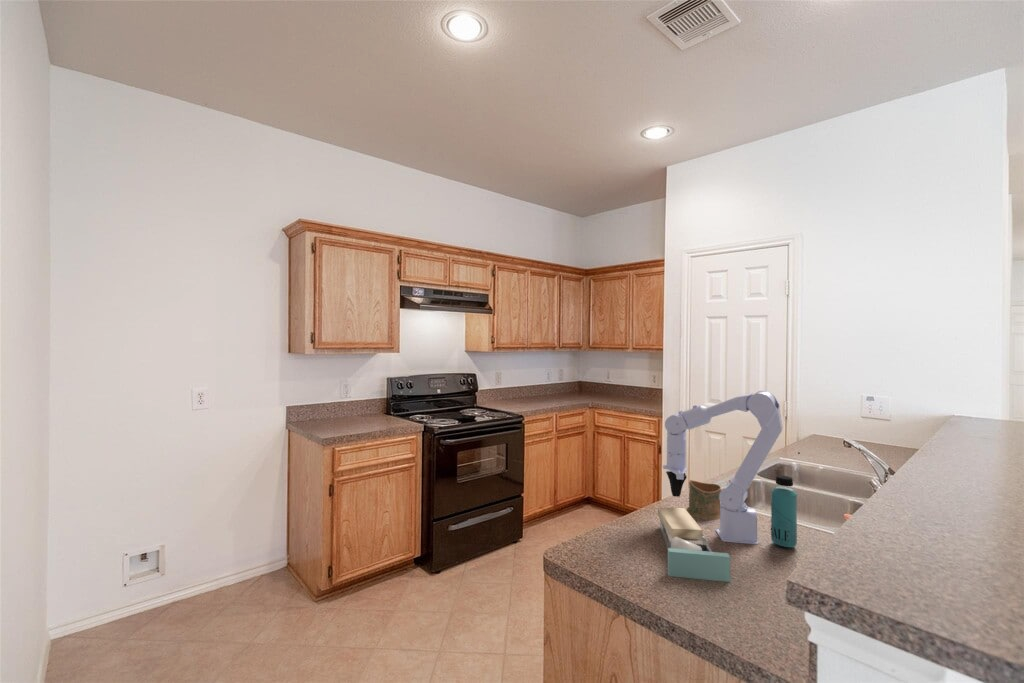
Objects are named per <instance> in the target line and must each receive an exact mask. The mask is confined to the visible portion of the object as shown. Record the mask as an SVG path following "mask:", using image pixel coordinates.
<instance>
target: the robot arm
mask: <svg viewBox="0 0 1024 683" xmlns="http://www.w3.org/2000/svg"><path fill="white" fill-rule="evenodd" d="M780 407H781V406H780V403H779V402H778V400H777V398H776V396H775V395H774V394H773V393H772V392H770V391H767V390H759V391H756V393H754V392H750V393H746V394H741V395H738V396H736V397H732V398H729V399H727V400H725V401H722V402H719V403H717V404H714V405H711V406H709V407H707V406H704V405H702V404H700V405H699V404H695V405H692V408H689V409H686V410H679V411H678V412H677V413H675V414H672V415H670V416H668V417H667V418H666V420H665V421H664V427H665V429H666V432H667V434H666V436H667V437H666V464H663V465H662V469H665V470H668V471H666V472H665V473H666V475H667V477H668V481H669V486H670V491H671V495H672V497H678V498H680V496H681V494H682V490H683V485H684V483H685V481H686V480H687V475H686V471H687V469H688V467H687V430H691V429H695V428H699V427H701V426H704V425H708V424H710V423H711V420H712V418H713V417H718V416H721V415H725V414H727V413H731V412H734V411H741V412H744V413H746V412H747V413H748V412H750V413H751V414H752V415H753V416H754V417H755V418H756V419H757V422H758V424H759V425H760V428H761V430H760V431H759V433H758V435H757V437H756V438H755V439H754V441H753V443H752V445H751V447H749V448H750V449H749V450H748V452H747V453H746V456H745V457H744V458H743V461H742V463H741V464H740V466H739V467H738V469H737V471H736V473H735V475H734V476H733V478H732V479H731V480H732V481H730V482H729V481H728V482H727V483H726V485H725V487H724V488H722V489H723V490H722V491H721V492H720V494H719V499H720V519H719V520H720V521H719V528H717V529H715V531H716V533H717V535H718V537H719V538H720V540H721V541H722V542H724V543H736V544H747V545H759V542H758V516H757V512H756V510H755V508H751V507H748V505H747V503H746V499H748V496H749V488H750V486H751V484H752V483H753V480H754V479H755V477H756V475H757V474H758V472H759V471H760V468H761V467H762V465H763V464H764V462H765V460H766V458H767V456H768V455H769V454H770V452H771V450H772V449H773V446H774V445H775V443H776V441H777V439H778V438H779V437H780V435H781V433H782V430H783V423H782V422H783V421H782V416H781V408H780Z"/></svg>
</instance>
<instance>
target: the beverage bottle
mask: <svg viewBox="0 0 1024 683" xmlns="http://www.w3.org/2000/svg"><path fill="white" fill-rule="evenodd" d="M793 481H794V480H793V478H792V477H791V476H788V475H776V478H775V484H776V485H778V486H776V487H774V488H773V489H772V490H771V491H770V492H771V503H770V505H771V508H770V512H771V514H770V539H771V542H772V543H774V545H775V544H776V545H778V546H781V547H783V548H784V547H785V548H794V547H796V546H797V544H798V524H797V523H798V522H797V521H798V520H797V519H798V518H797V516H798V515H797V514H798V493H797V492H795V490H794V489H793V488H791V487H793V486H794V483H793Z"/></svg>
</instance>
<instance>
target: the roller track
mask: <svg viewBox="0 0 1024 683" xmlns="http://www.w3.org/2000/svg"><path fill="white" fill-rule="evenodd" d="M659 529H660V533H661V535H662V538H663V541H664V544H665V547H666V551H667V552H668V548H671V542H672V539H673V538H672V537H671V535H670V534H669V532H668V531H667V529H666V528H665V526H664V524H663V523H662V521H661V520H660V519H659ZM681 539H683V540H686V541H688V542H691V543H693V544H695V545H698V546H700V547H701V548H702V551H708V552H713V550H712V548H711V546H710V545H709V543H708V541H707V538H706V537H705V536H704V534H703V533H702V539H685V538H681Z"/></svg>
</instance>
